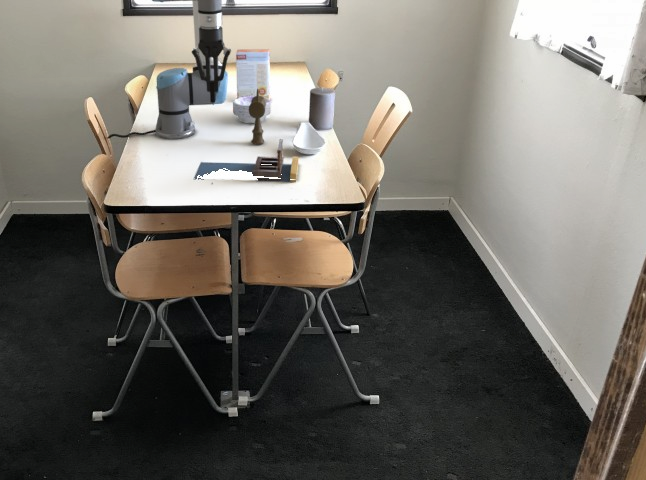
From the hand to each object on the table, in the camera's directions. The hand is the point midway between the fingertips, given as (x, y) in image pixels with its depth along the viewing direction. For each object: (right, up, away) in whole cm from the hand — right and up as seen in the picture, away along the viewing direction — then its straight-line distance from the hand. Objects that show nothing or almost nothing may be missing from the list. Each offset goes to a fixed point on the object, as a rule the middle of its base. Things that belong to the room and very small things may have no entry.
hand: (213, 101), depth 239 cm
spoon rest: (+33, -10, +21) cm, 41 cm away
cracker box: (+15, +24, +72) cm, 77 cm away
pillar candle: (+41, +4, +41) cm, 58 cm away
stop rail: (+27, -24, -1) cm, 37 cm away
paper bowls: (+14, +8, +49) cm, 51 cm away
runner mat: (+11, -24, +1) cm, 26 cm away
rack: (+19, -24, 0) cm, 30 cm away
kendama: (+16, -8, +25) cm, 31 cm away
